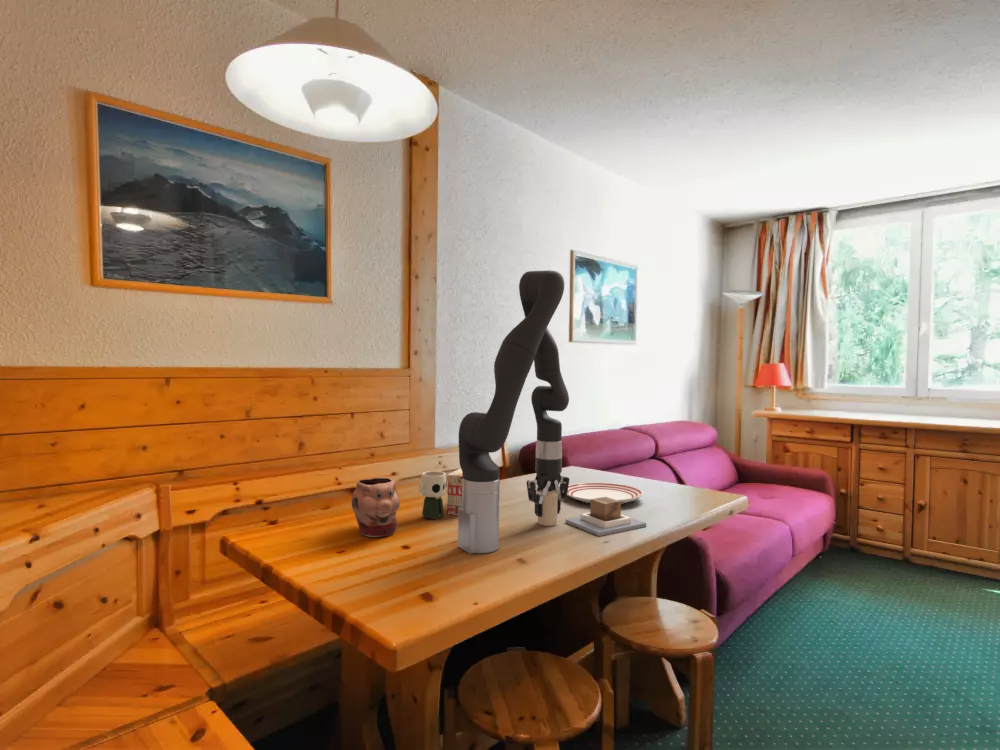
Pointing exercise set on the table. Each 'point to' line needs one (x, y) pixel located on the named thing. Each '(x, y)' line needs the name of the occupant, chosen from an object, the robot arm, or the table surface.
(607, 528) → the baseplate
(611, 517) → the walnut block
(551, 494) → the candle
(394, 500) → the decorative planter
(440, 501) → the character mug
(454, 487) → the stack of blocks
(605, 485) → the dinner plate
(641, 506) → the table surface
